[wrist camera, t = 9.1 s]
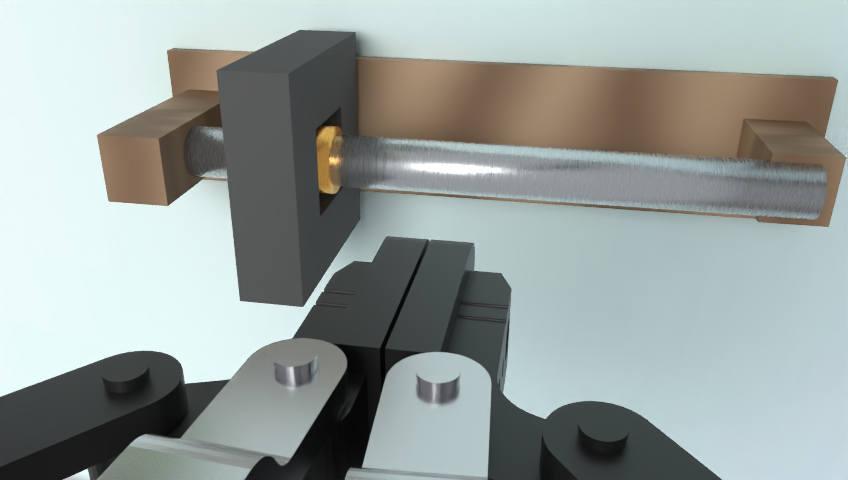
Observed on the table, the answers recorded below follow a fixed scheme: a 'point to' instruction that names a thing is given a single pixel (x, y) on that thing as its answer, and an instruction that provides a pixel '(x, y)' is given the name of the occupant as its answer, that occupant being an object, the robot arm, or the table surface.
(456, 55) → the table surface
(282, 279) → the dark grey frame
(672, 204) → the pipe
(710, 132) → the stand
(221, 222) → the table surface
